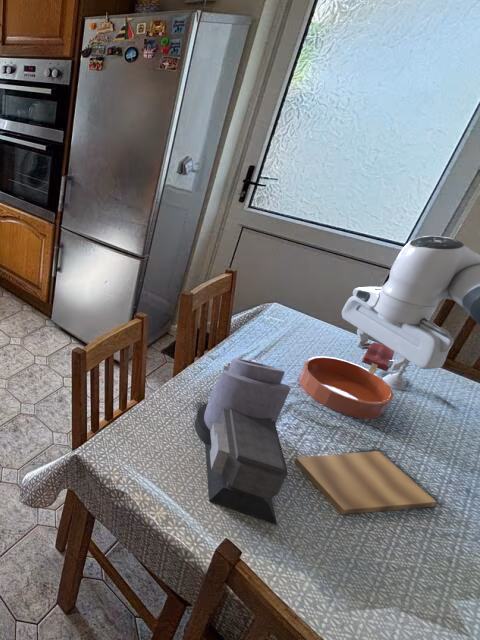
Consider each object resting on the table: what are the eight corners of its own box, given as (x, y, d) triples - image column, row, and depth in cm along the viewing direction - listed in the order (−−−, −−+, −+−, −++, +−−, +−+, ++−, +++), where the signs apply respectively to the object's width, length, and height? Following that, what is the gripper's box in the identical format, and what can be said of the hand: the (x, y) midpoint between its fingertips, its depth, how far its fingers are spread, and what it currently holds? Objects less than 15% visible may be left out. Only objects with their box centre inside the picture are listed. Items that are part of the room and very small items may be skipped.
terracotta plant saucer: (341, 368, 120) (348, 354, 118) (404, 416, 104) (413, 401, 102) (283, 371, 119) (288, 358, 117) (337, 420, 103) (345, 406, 101)
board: (376, 455, 94) (379, 450, 93) (433, 506, 83) (437, 502, 82) (293, 461, 93) (295, 457, 92) (340, 514, 82) (343, 509, 81)
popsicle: (359, 365, 93) (371, 339, 102) (356, 371, 94) (369, 345, 102) (386, 375, 90) (396, 348, 98) (383, 382, 90) (393, 353, 99)
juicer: (193, 399, 110) (215, 323, 99) (264, 418, 104) (296, 340, 93) (197, 497, 85) (228, 410, 75) (290, 530, 79) (337, 440, 69)
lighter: (220, 377, 117) (227, 355, 114) (220, 373, 119) (228, 351, 115) (249, 386, 114) (258, 363, 110) (249, 382, 115) (258, 360, 112)
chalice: (419, 394, 111) (452, 339, 103) (390, 391, 112) (420, 337, 104) (397, 375, 117) (427, 323, 109) (370, 373, 118) (398, 321, 110)
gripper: (472, 335, 80) (437, 388, 86) (372, 284, 99) (350, 331, 105) (441, 336, 80) (409, 390, 86) (348, 285, 98) (327, 332, 104)
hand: (376, 357), depth 96 cm, fingers closed on popsicle, 6 cm apart
